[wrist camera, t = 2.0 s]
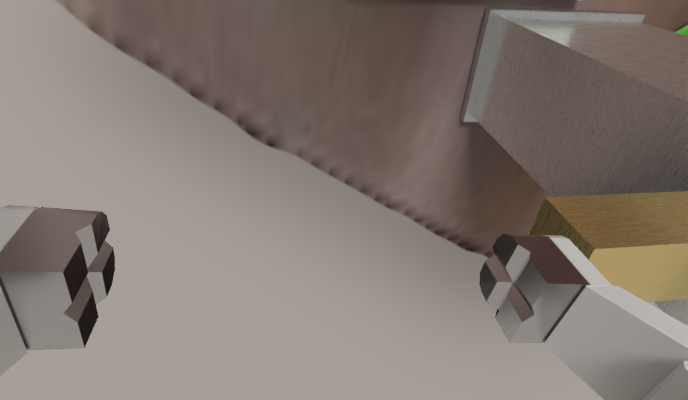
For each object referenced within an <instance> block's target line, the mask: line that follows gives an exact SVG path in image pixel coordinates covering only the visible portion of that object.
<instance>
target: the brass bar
mask: <svg viewBox="0 0 688 400" xmlns="http://www.w3.org/2000/svg"><path fill="white" fill-rule="evenodd" d="M529 235H537V236H541V235H559V236H564V237H566V238H568V239H570V240H571V242H572V243H573V244H574V245H575V246H576V247H577V248H578V249H579V250H580V251H581V252H582V253H583V255H584V256H585V257H586V258H587V259H588V260H589V261H590V262H591V263H592V264H593V265H594V266H595V268H596V269H597V270H598V271H599V272H600V273H601V274H602V275H603V276H604V277H605V278H606V279H607V280H608V282H609V283H610V284H611V285H612V286H619V287H621V288H622V289H624V290H626V291H628V292H629V293H631V294H633V295H635V296H636V297H638V298H640V299H642V300H643V301H645V302H654V301H666V300H677V299H688V191H680V192H656V193H631V194H607V195H583V196H558V197H545V198H544V200H543V203H542V205H541V207H540V210H539V212H538V215H537V217H536V219H535V222H534V224H533V227H532V229H531V231H530V234H529Z"/></svg>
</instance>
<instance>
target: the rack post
mask: <svg viewBox="0 0 688 400" xmlns="http://www.w3.org/2000/svg"><path fill="white" fill-rule="evenodd" d="M644 17H645V14H641V13H633V12H604V11H574V10H545V9H516V8H486V9H485V14H484V18H483V22H482V26H481V31H480V35H479V39H478V43H477V48H476V52H475V56H474V61H473V65H472V69H471V73H470V78H469V82H468V86H467V90H466V95H465V99H464V103H463V107H462V112H461V116H460V119H461V120H462V121H463V122H478V123H479V124H480V125H481V126H482V127H483V128H484V129H485V130H486V131H487V132H488V133H489V134H490V135H491V136H492V137H493V138H494V139H495V140H496V141H497V142H498V143H499V144H500V145H501V146H502V147H503V148H504V149H505V150H506V151H507V152H508V153H509V154H510V156H511V157H512V158H513V159H514V160H515V161H516V162H517V163H518V164H519V165H520V166H521V167H522V168H523V169H524V170H525V171H526V172H527V173H528V174H529V175H530V176H531V177H532V178H533V179H534V180H535V181H536V182H537V183H538V184H539V185H540V186H541V187H542V188H543V189H544V190H545V191H546V192H547V193H548V194H549V195H550V196H551V197H558V196H583V195H607V194H631V193H656V192H680V191H688V36H686V35H682V34H679V33H676V32H672V31H669V30H666V29H662V28H659V27H656V26H652V25H649V24H646V23H642V21H643V19H644ZM654 303H655V304H656V305H657V306H658V307H659V308H660V309H661V310H662V311H663V312H664V313H666V314H668V315H669V316H671V317H673V318H675V319H676V320H678V321H680V322H682V323H683V324H685V325H687V326H688V299H677V300H666V301H654Z"/></svg>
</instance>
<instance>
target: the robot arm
mask: <svg viewBox="0 0 688 400" xmlns="http://www.w3.org/2000/svg"><path fill="white" fill-rule="evenodd" d="M109 230H110V228H109V224H108V219H107V215H105V214H104V213H103V212H98V211H85V210H70V209H58V208H43V207H41V208H38V207H26V206H9V205H8V206H5V207H2V208H0V375H1V374H3V373H4V372H5V371H6V370H8V369H9V368H10V367H11V366H12V365H14V364H15V363H16V362H17V361H18V360H20V359H21V358H22V357H23V356H24V355H26V354H27V353H28V352H27V350H41V349H42V350H43V349H66V348H67V349H68V348H85V345H86V343H87V341H88V339H89V336H90V334H91V332H92V330H93V327H94V325H95V323H96V321H97V318H98V313H97V309H96V304H97V303H99V302H100V301H102V300H103V299H105V298H106V297H107V295H108V293H109V290H110V288H111V285H112V281H113V276H114V271H115V257H114V251H113V248H112V247H111V246H110V245H109V244H108V243H107V242H106V241H105V238H106V236H107V234H108V232H109ZM493 251H494V254H495V255H493V256H492V257H491V258H489V259H488V260H487V261H485V263H484V265H483V267H482V270H481V272H480V287H481V291H482V294H483V296H484V298H485V299H486V301H487V302H488V303H489V304H491V305H492V306H493V307H495V308H496V309H497V312H496V319H497V321H498V323H499V325H500V326H501V328H502V330H503V332H504V334H505V335H506V337H507V339H508V341H509V342H526V343H530V342H531V343H544V344H543V345H544V346H545V347H547V348H548V349H549V350H550V351H551V352H552V353H553V354H554V355H555V356H556V357H557V358H559V359H560V360H561V361H562V362H563V363H564V364H565V365H566V366H567V367H568V368H570V369H571V370H572V371H573V372H574V373H575V374H576V375H577V376H578V377H580V378H581V379H582V380H583V381H584V382H585V383H586V384H587V385H588V386H590V387H591V388H592V389H593V390H594V391H595V392H596V393H597V394H598V395H600V396H601V397H602V398H603V399H604V400H688V326H687V325H685V324H683V323H682V322H680V321H678V320H676V319H675V318H673V317H671V316H669V315H668V314H666V313H664V312H662V311H661V310H659V309H657V308H655V307H654V306H652V305H650V304H648V303H647V302H645V301H643V300H642V299H640V298H638V297H636V296H635V295H633V294H631V293H629V292H628V291H626V290H624V289H622V288H621V287H619V286H612V285H611V284H610V283H609V282H608V280H607V279H606V278H605V277H604V276H603V275H602V274H601V273H600V272H599V271H598V270H597V269H596V268H595V266H594V265H593V264H592V263H591V262H590V261H589V260H588V259H587V258H586V257H585V256H584V255H583V253H582V252H581V251H580V250H579V249H578V248H577V247H576V246H575V245H574V244H573V243H572V242H571V240H570V239H568V238H566V237H564V236H559V235H541V236H537V235H517V234H502V235H501V236H500V237H498V238H497V240H496V241H495V243H494V245H493Z"/></svg>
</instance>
